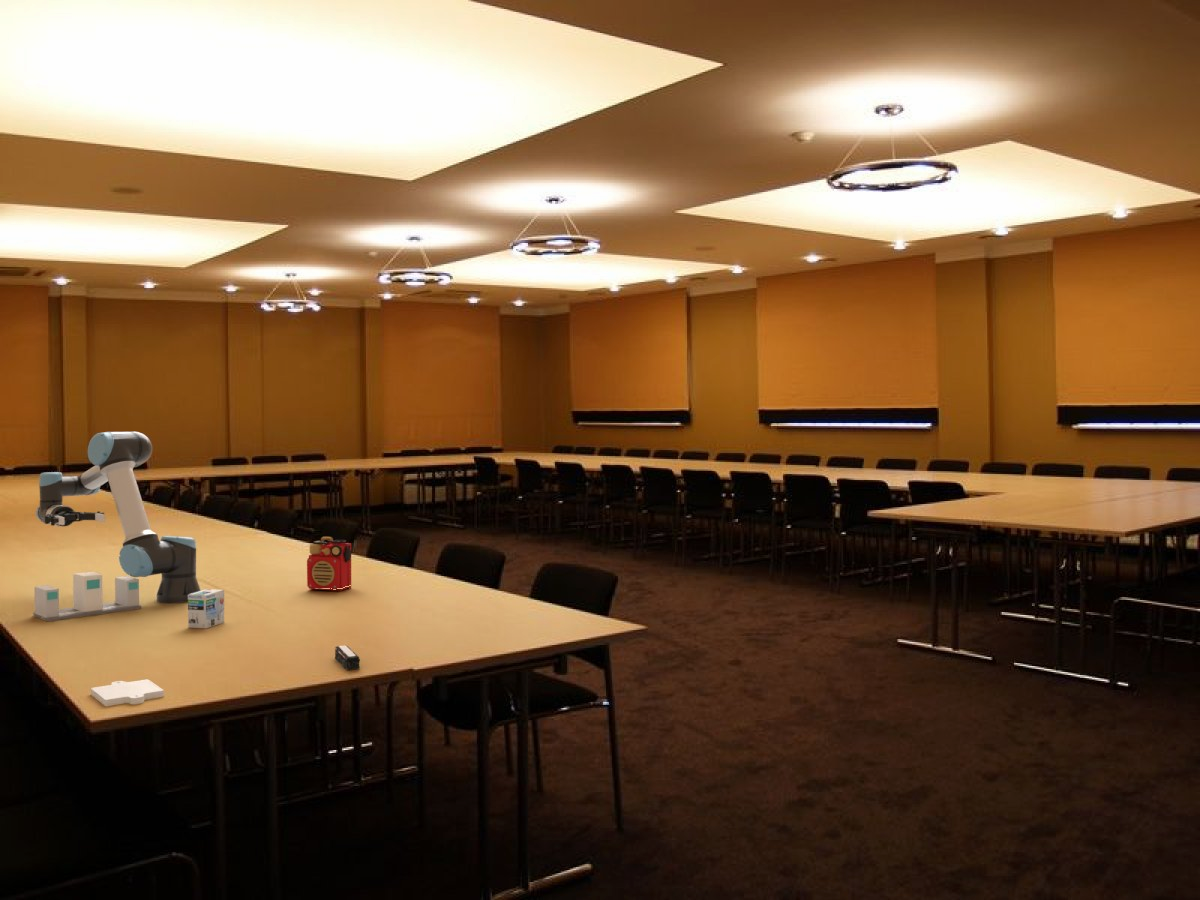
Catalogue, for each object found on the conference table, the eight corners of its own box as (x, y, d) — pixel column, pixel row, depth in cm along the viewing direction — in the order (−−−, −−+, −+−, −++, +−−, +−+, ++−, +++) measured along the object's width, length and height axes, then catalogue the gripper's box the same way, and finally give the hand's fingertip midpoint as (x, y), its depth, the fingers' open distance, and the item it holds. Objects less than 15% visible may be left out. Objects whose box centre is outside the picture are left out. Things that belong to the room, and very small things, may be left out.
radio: (304, 590, 383) (304, 538, 382) (318, 586, 393) (317, 535, 392) (342, 592, 379) (341, 540, 379) (354, 588, 389) (354, 537, 388)
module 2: (127, 601, 354) (126, 576, 354) (139, 605, 347) (139, 579, 347) (115, 602, 351) (115, 577, 351) (127, 606, 344) (127, 580, 344)
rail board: (125, 603, 355) (125, 600, 355) (141, 608, 346) (141, 605, 346) (33, 615, 333) (33, 612, 333) (47, 621, 324) (47, 618, 324)
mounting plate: (167, 700, 237) (167, 692, 237) (108, 710, 228) (108, 702, 228) (144, 684, 251) (144, 677, 250) (88, 693, 242) (88, 685, 242)
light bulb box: (206, 629, 314) (205, 595, 314) (187, 628, 315) (186, 594, 315) (225, 622, 324) (225, 589, 324) (206, 621, 326) (206, 588, 325)
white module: (92, 606, 345) (91, 571, 344) (103, 609, 338) (102, 574, 338) (73, 608, 340) (73, 573, 340) (84, 612, 334) (83, 576, 334)
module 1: (47, 611, 335) (47, 585, 334) (59, 616, 328) (59, 588, 327) (34, 613, 332) (34, 586, 331) (46, 617, 325) (45, 590, 324)
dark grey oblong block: (331, 677, 259) (331, 661, 259) (313, 656, 281) (313, 641, 281) (386, 671, 265) (386, 655, 265) (364, 651, 288) (364, 636, 288)
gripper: (96, 523, 378) (119, 527, 364) (24, 528, 360) (46, 533, 345) (96, 503, 378) (119, 506, 364) (23, 507, 359) (45, 511, 345)
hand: (83, 519), depth 355 cm, fingers open, 13 cm apart
